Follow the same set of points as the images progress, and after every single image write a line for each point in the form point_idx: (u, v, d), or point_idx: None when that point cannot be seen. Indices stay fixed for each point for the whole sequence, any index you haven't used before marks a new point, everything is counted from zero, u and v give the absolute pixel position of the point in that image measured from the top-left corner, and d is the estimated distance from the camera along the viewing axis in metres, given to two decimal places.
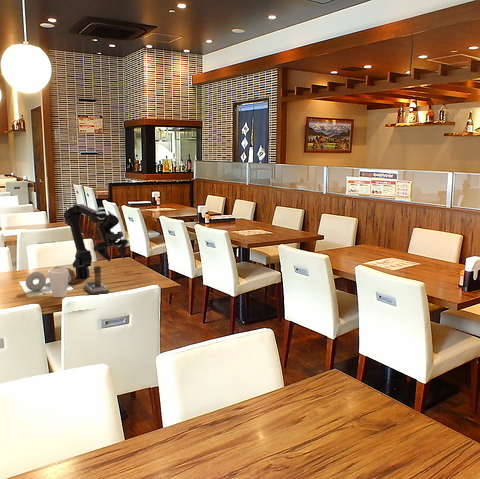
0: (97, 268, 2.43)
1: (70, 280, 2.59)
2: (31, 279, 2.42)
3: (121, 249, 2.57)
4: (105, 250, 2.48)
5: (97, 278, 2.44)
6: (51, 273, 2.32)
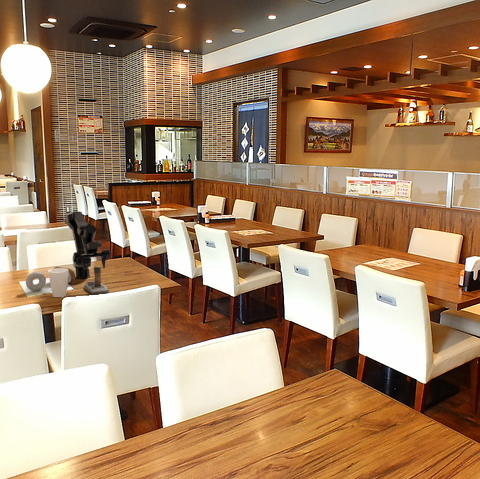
0: (97, 268, 2.43)
1: (70, 280, 2.59)
2: (31, 279, 2.42)
3: (102, 259, 2.53)
4: (81, 259, 2.46)
5: (97, 278, 2.44)
6: (51, 273, 2.32)
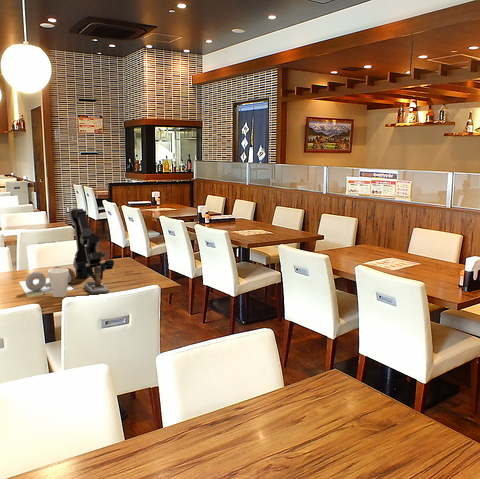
0: (97, 268, 2.43)
1: (70, 280, 2.59)
2: (31, 279, 2.42)
3: None
4: (90, 269, 2.44)
5: (97, 278, 2.44)
6: (51, 273, 2.32)
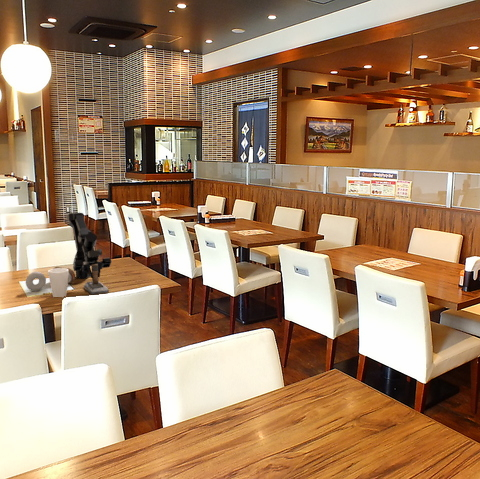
0: (94, 266, 2.47)
1: (70, 280, 2.59)
2: (31, 279, 2.42)
3: None
4: (88, 267, 2.48)
5: (94, 276, 2.48)
6: (51, 273, 2.32)
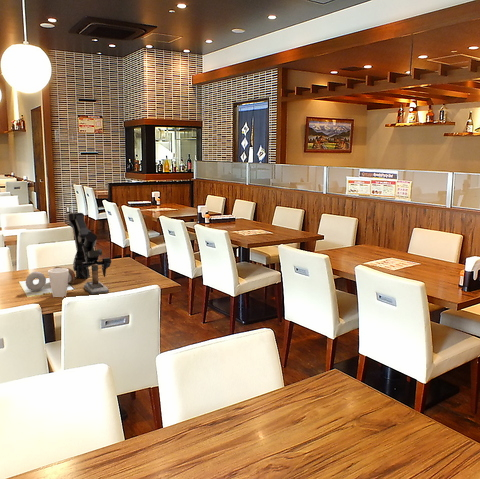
0: (94, 266, 2.47)
1: (70, 280, 2.59)
2: (31, 279, 2.42)
3: (103, 268, 2.53)
4: (82, 268, 2.47)
5: (94, 276, 2.48)
6: (51, 273, 2.32)
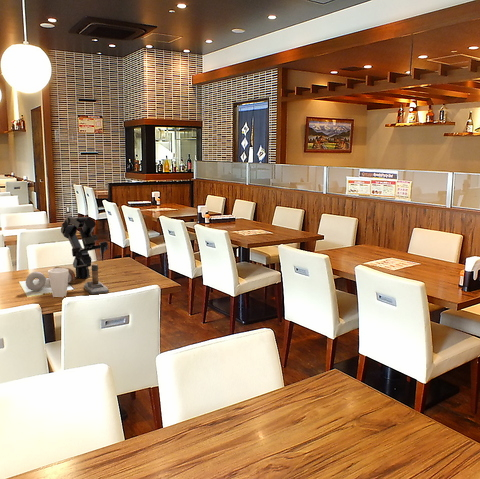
0: (94, 266, 2.47)
1: (70, 280, 2.59)
2: (31, 279, 2.42)
3: (101, 252, 2.60)
4: (80, 254, 2.55)
5: (94, 276, 2.48)
6: (51, 273, 2.32)
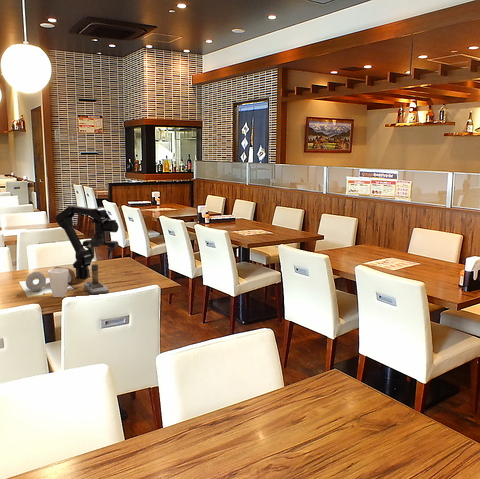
0: (94, 266, 2.47)
1: (70, 280, 2.59)
2: (31, 279, 2.42)
3: None
4: (89, 249, 2.66)
5: (94, 276, 2.48)
6: (51, 273, 2.32)
